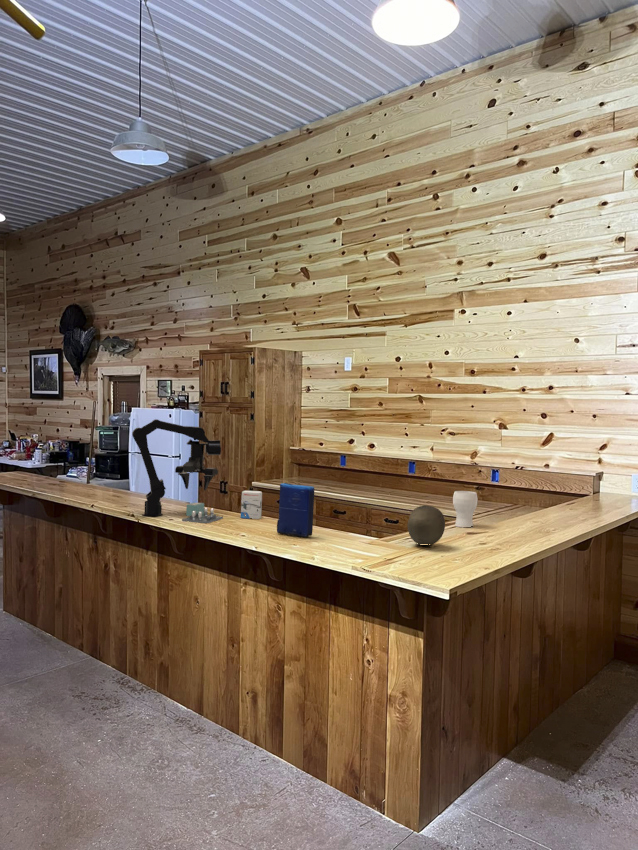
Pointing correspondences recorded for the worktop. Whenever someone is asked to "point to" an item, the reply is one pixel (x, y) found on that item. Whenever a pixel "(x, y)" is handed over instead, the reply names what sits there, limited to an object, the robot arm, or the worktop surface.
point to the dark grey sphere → (426, 525)
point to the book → (295, 510)
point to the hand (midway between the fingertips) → (195, 489)
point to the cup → (464, 507)
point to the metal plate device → (203, 517)
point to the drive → (194, 508)
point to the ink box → (251, 504)
